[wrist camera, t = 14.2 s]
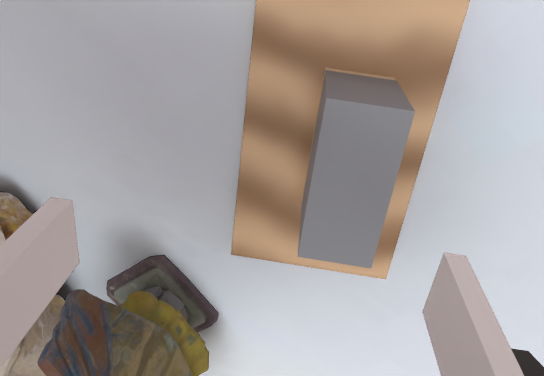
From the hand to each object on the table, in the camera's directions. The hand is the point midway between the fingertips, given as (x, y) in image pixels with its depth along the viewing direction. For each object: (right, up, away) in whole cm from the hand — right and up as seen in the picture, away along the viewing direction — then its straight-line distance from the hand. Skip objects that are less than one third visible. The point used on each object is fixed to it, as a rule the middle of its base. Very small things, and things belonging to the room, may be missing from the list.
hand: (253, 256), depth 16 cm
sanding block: (+6, +6, +19) cm, 21 cm away
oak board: (+5, +6, +20) cm, 21 cm away
